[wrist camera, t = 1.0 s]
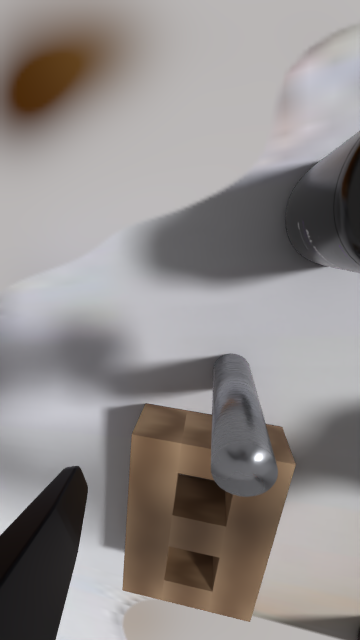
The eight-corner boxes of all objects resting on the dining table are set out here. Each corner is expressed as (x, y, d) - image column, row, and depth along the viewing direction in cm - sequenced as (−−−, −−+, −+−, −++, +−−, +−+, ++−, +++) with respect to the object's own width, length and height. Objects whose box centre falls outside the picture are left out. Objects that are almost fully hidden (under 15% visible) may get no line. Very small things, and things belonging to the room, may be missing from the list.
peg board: (282, 427, 22) (295, 464, 18) (245, 569, 27) (249, 621, 24) (145, 403, 23) (131, 434, 20) (135, 544, 29) (122, 590, 25)
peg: (253, 356, 21) (284, 450, 11) (246, 389, 22) (270, 502, 12) (216, 351, 21) (215, 438, 12) (211, 383, 22) (206, 489, 12)
